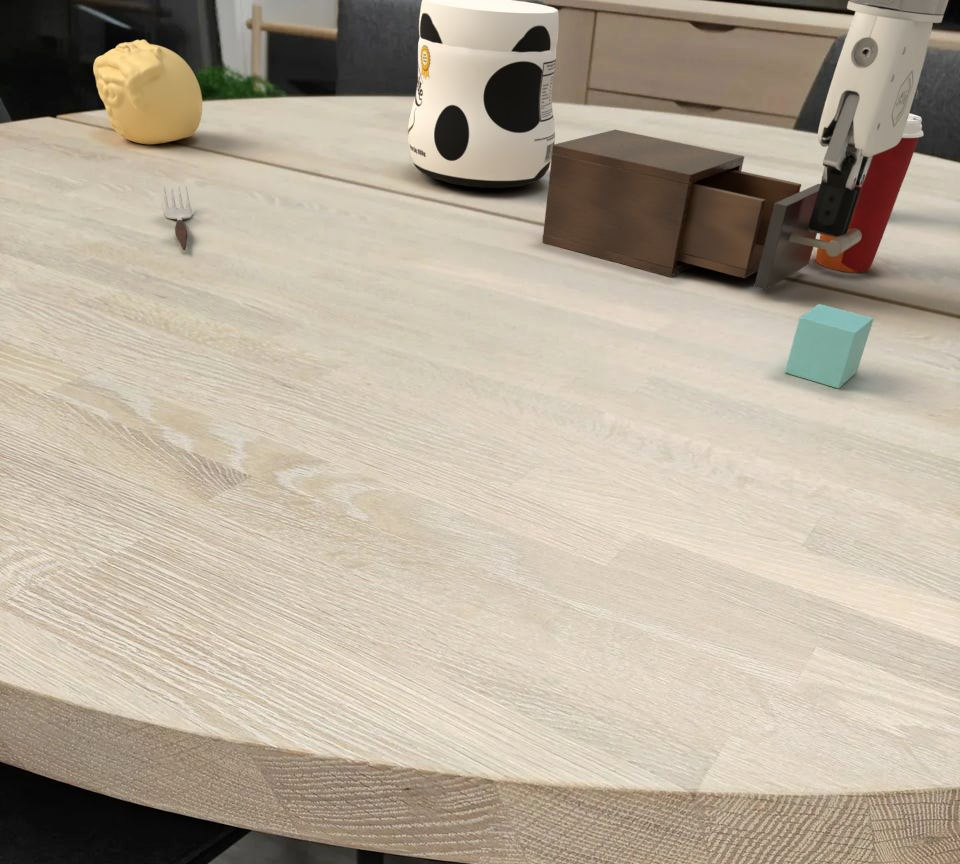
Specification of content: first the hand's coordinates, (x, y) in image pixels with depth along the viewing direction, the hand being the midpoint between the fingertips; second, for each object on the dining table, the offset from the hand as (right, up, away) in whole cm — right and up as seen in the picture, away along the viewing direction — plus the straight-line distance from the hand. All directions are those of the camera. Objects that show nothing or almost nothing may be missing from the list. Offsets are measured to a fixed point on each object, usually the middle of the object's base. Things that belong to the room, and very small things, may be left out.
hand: (827, 230), depth 91 cm
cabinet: (-16, +3, +11) cm, 20 cm away
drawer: (-6, -1, +6) cm, 8 cm away
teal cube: (-5, -16, -13) cm, 21 cm away
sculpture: (-72, +25, +33) cm, 84 cm away
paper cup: (+6, +1, +12) cm, 13 cm away
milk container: (-32, +18, +29) cm, 47 cm away
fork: (-60, +2, +4) cm, 61 cm away
